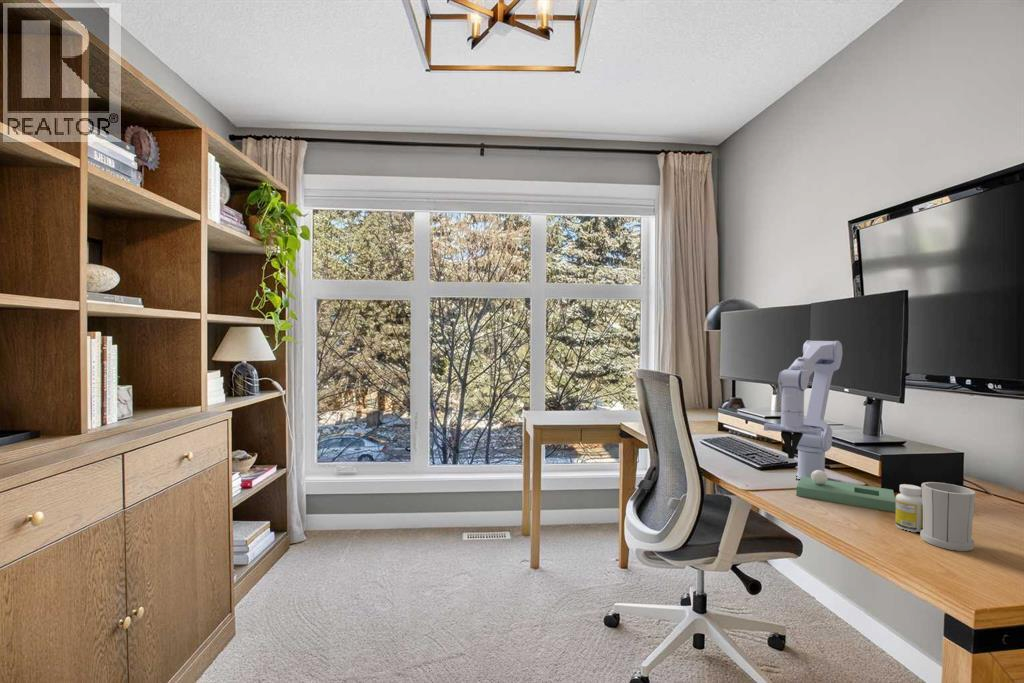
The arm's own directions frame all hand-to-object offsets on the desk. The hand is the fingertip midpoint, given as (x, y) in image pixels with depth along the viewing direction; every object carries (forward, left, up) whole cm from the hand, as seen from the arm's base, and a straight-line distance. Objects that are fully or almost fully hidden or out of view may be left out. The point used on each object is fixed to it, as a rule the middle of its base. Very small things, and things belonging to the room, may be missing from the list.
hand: (791, 458), depth 147 cm
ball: (0, +7, -4) cm, 8 cm away
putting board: (0, +13, -9) cm, 16 cm away
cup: (+23, +32, -9) cm, 41 cm away
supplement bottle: (+18, +26, -9) cm, 33 cm away
